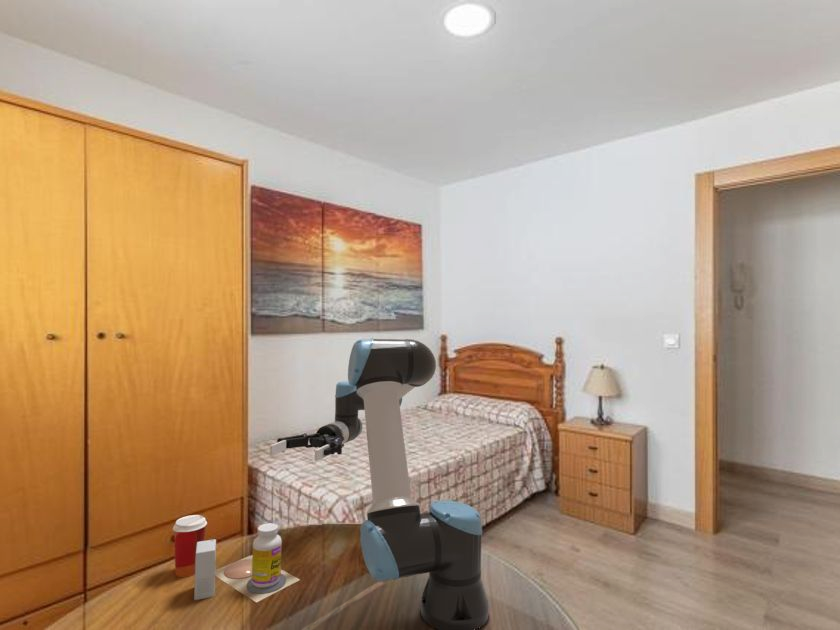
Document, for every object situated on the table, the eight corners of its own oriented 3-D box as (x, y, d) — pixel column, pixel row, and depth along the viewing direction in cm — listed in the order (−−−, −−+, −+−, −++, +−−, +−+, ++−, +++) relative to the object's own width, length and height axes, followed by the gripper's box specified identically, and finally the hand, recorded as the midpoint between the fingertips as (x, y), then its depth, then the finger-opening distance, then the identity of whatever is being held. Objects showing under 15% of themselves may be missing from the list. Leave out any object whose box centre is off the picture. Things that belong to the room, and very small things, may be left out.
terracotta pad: (269, 568, 115) (269, 566, 115) (236, 583, 108) (236, 581, 108) (249, 557, 121) (249, 555, 121) (216, 570, 114) (217, 569, 114)
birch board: (300, 586, 110) (300, 579, 110) (256, 609, 101) (256, 602, 101) (253, 559, 122) (253, 554, 122) (209, 578, 113) (210, 572, 113)
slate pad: (293, 581, 109) (293, 580, 109) (261, 598, 102) (261, 597, 102) (271, 569, 115) (271, 568, 115) (238, 584, 108) (239, 583, 108)
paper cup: (195, 565, 119) (197, 511, 119) (211, 575, 114) (213, 519, 115) (164, 578, 112) (166, 521, 113) (179, 589, 108) (182, 529, 108)
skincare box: (194, 593, 106) (196, 541, 107) (214, 589, 108) (216, 538, 109) (193, 607, 101) (195, 553, 101) (214, 603, 103) (216, 549, 103)
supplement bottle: (271, 591, 105) (273, 534, 105) (245, 587, 106) (247, 531, 107) (285, 575, 111) (287, 522, 112) (261, 572, 113) (262, 520, 113)
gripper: (368, 452, 135) (335, 472, 115) (296, 444, 143) (252, 462, 122) (369, 426, 136) (336, 442, 115) (296, 420, 143) (253, 434, 123)
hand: (292, 453), depth 119 cm, fingers open, 13 cm apart
